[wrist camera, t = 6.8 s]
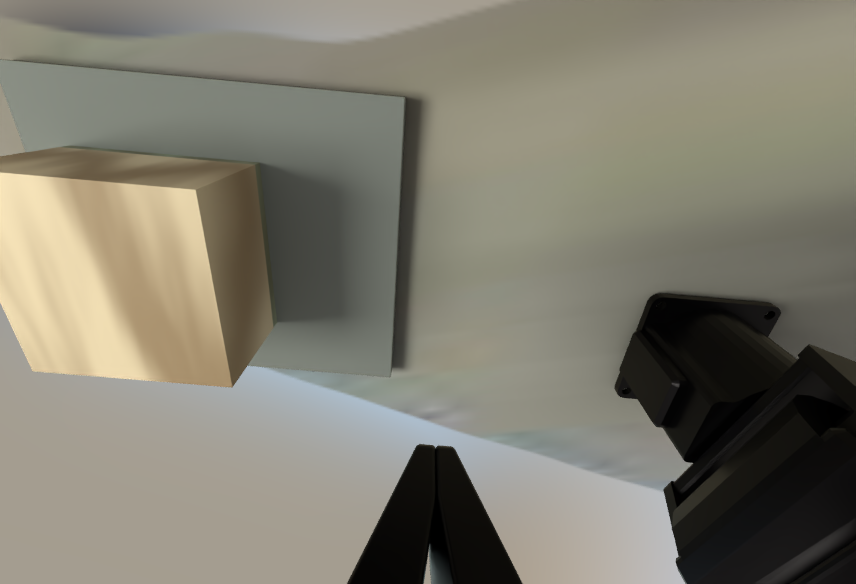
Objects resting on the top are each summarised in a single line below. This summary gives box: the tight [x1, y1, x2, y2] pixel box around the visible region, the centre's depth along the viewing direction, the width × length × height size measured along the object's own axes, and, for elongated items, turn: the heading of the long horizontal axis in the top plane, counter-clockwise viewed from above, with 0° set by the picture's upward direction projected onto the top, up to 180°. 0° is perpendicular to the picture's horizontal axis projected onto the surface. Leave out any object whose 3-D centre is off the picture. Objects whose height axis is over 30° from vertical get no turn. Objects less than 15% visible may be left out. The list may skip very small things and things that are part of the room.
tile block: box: [0, 145, 277, 387], centre depth 16 cm, size 5×8×8 cm
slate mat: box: [0, 59, 406, 377], centre depth 19 cm, size 16×14×1 cm
